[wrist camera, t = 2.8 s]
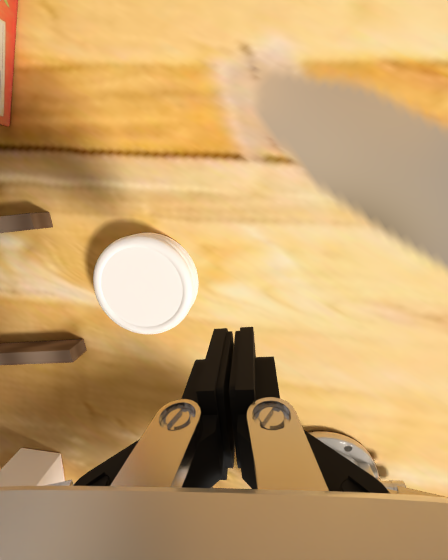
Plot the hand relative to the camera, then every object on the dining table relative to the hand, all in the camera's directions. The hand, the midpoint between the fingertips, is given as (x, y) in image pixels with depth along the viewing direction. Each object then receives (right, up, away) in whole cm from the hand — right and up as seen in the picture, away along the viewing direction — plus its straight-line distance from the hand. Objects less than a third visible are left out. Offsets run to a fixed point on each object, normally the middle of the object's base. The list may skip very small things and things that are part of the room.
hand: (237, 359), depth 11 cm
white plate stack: (-8, +4, +17) cm, 20 cm away
